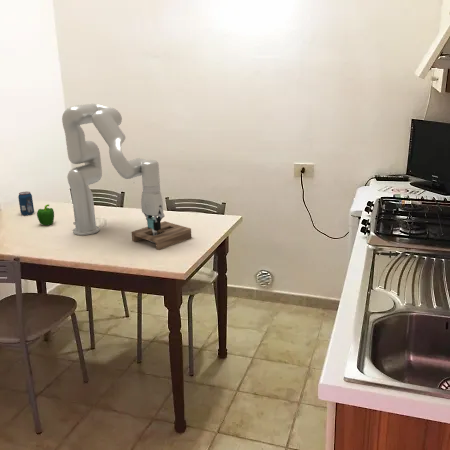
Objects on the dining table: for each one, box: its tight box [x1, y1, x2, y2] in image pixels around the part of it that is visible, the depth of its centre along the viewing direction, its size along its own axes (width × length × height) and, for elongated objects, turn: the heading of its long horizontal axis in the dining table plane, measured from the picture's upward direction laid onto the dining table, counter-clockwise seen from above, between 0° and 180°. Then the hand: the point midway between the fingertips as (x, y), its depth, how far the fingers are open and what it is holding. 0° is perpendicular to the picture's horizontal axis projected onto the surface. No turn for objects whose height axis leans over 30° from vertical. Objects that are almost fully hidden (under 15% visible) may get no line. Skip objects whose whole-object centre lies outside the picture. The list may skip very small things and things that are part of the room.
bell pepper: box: [36, 203, 55, 226], centre depth 255 cm, size 8×8×10 cm
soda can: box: [17, 191, 35, 217], centre depth 274 cm, size 7×7×12 cm
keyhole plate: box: [130, 221, 192, 251], centre depth 230 cm, size 18×20×4 cm
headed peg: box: [146, 216, 158, 244], centre depth 226 cm, size 5×5×10 cm
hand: (154, 228), depth 226 cm, fingers closed on headed peg, 4 cm apart
